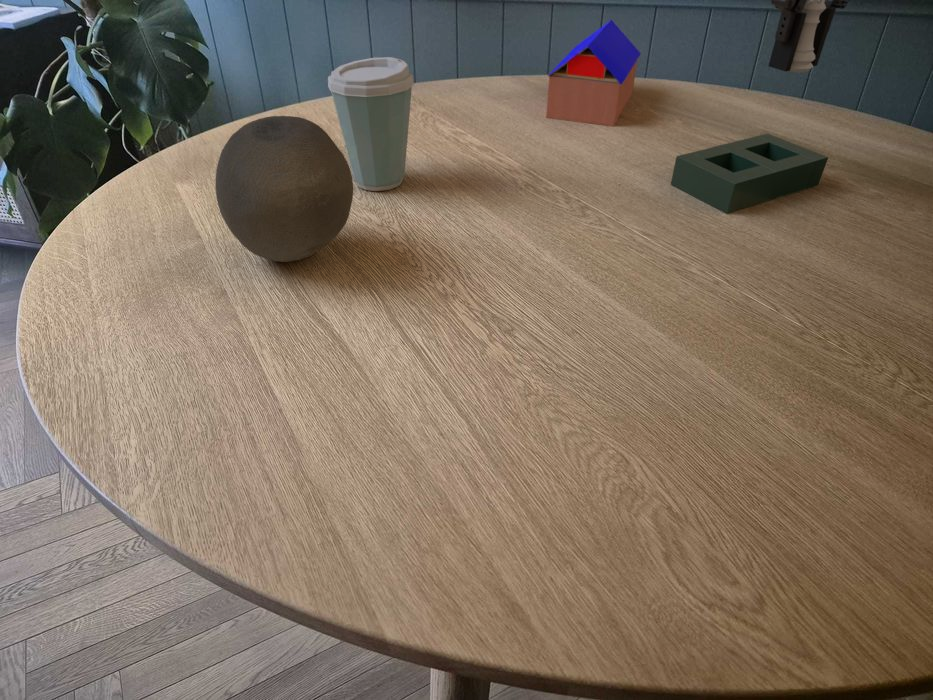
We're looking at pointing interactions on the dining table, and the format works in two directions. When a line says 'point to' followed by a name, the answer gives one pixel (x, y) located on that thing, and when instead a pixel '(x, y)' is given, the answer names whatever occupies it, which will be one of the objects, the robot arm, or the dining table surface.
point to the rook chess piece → (807, 36)
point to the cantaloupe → (283, 187)
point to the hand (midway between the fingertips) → (792, 65)
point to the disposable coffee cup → (374, 118)
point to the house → (594, 79)
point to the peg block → (747, 172)
